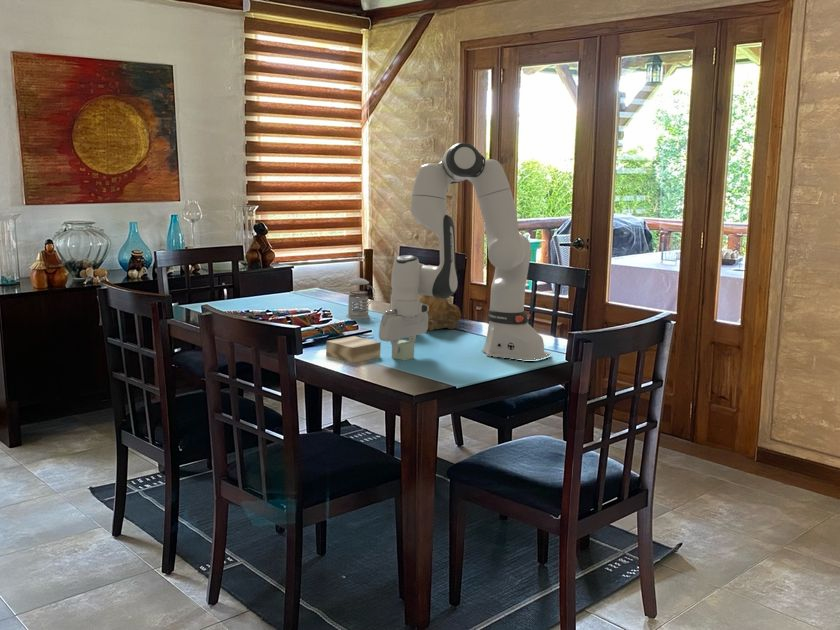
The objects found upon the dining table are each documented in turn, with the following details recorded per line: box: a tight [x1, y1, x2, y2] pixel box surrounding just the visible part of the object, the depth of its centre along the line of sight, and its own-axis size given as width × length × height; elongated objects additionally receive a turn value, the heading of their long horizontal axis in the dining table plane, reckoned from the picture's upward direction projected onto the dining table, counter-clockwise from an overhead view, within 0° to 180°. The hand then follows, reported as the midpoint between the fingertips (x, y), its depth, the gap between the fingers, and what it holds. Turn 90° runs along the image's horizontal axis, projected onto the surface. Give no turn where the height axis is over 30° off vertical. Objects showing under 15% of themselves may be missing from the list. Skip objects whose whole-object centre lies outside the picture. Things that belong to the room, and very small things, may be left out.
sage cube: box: [391, 339, 416, 361], centre depth 259 cm, size 5×5×5 cm
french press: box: [345, 253, 376, 320], centre depth 323 cm, size 10×12×25 cm
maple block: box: [325, 335, 381, 363], centre depth 259 cm, size 12×12×5 cm
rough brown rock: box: [418, 294, 462, 331], centre depth 308 cm, size 23×17×15 cm
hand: (403, 351), depth 259 cm, fingers closed on sage cube, 5 cm apart
